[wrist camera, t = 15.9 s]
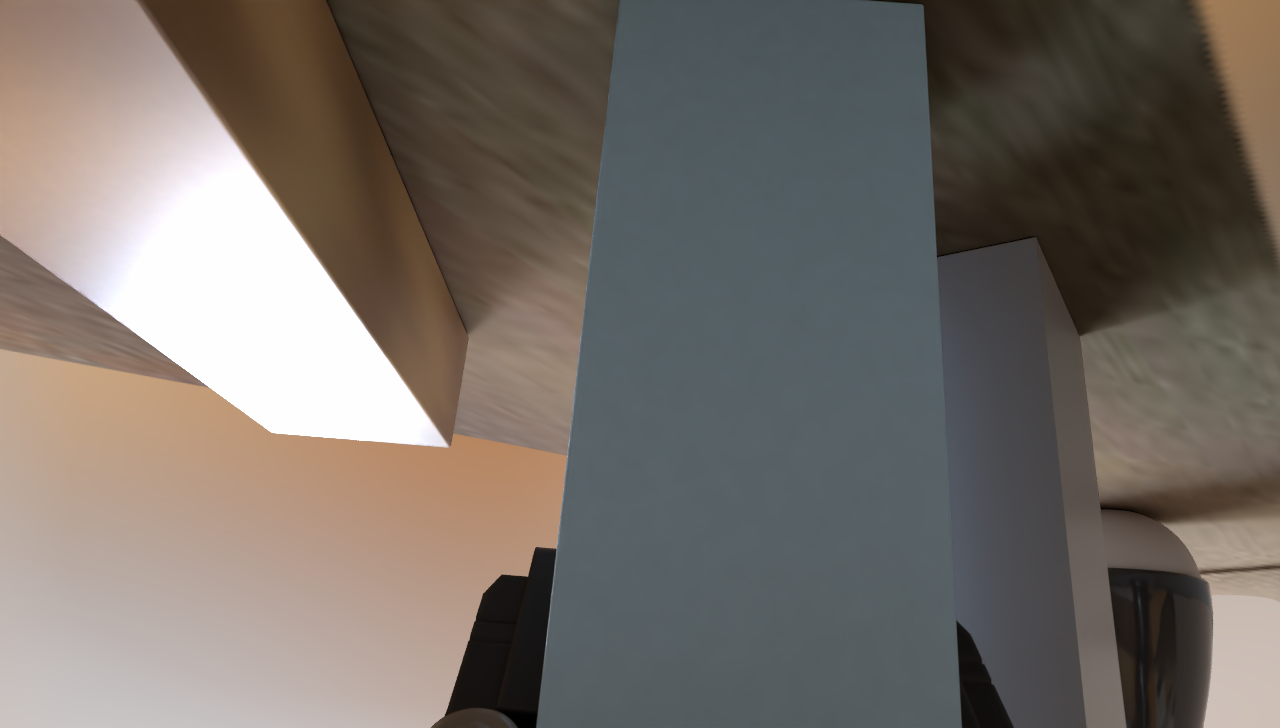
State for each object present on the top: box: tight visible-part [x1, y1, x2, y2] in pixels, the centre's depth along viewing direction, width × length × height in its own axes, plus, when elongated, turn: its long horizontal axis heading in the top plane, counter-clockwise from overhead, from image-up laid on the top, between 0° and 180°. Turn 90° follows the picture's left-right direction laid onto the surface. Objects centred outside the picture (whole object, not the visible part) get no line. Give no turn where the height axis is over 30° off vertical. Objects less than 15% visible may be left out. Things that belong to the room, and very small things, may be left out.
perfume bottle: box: [937, 237, 1126, 728], centre depth 21 cm, size 7×7×18 cm
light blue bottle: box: [536, 0, 962, 728], centre depth 13 cm, size 18×5×5 cm
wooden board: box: [0, 0, 469, 447], centre depth 18 cm, size 22×6×4 cm, turn 178°
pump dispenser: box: [1100, 509, 1213, 728], centre depth 45 cm, size 10×10×15 cm
